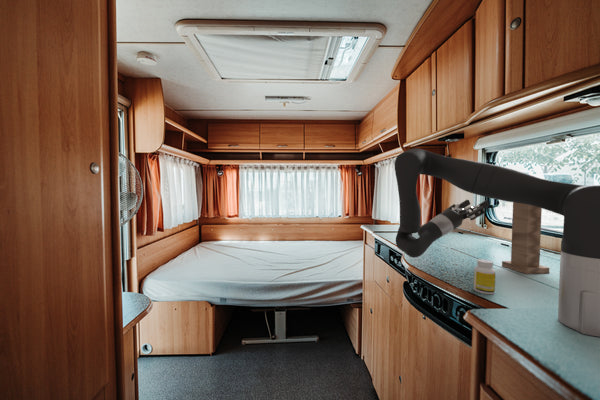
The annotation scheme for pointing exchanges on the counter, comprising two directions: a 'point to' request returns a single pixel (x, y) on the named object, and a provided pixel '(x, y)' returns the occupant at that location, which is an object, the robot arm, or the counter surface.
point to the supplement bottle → (484, 277)
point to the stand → (526, 240)
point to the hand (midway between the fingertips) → (477, 202)
